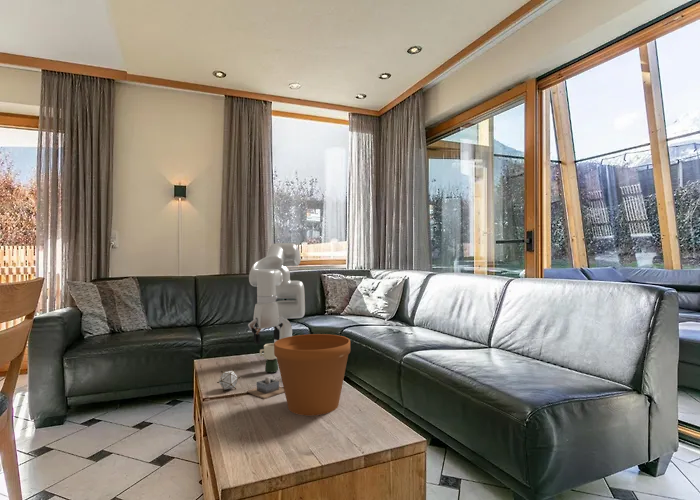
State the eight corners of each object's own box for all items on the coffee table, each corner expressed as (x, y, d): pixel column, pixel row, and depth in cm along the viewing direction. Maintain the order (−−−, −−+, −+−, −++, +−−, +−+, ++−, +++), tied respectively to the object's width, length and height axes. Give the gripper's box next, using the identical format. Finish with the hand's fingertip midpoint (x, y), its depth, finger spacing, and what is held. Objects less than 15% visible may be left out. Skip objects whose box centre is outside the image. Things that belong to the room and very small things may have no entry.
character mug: (281, 368, 193) (281, 342, 194) (284, 372, 187) (283, 345, 187) (259, 371, 190) (258, 344, 190) (260, 375, 183) (260, 347, 183)
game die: (223, 399, 163) (208, 380, 163) (237, 386, 170) (223, 368, 170) (234, 392, 158) (219, 373, 158) (248, 379, 165) (233, 360, 165)
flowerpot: (268, 398, 152) (268, 337, 153) (336, 388, 162) (335, 331, 163) (283, 427, 126) (282, 353, 127) (363, 413, 136) (362, 345, 137)
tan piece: (271, 385, 169) (271, 371, 169) (288, 391, 160) (288, 377, 161) (247, 392, 160) (246, 378, 160) (264, 399, 152) (264, 384, 152)
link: (269, 386, 165) (269, 378, 165) (279, 389, 160) (278, 381, 160) (256, 390, 160) (256, 381, 160) (266, 394, 156) (266, 385, 156)
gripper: (277, 297, 171) (278, 337, 170) (243, 301, 158) (243, 344, 157) (288, 298, 165) (289, 339, 165) (253, 302, 153) (254, 346, 152)
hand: (267, 341), depth 161 cm, fingers open, 9 cm apart
